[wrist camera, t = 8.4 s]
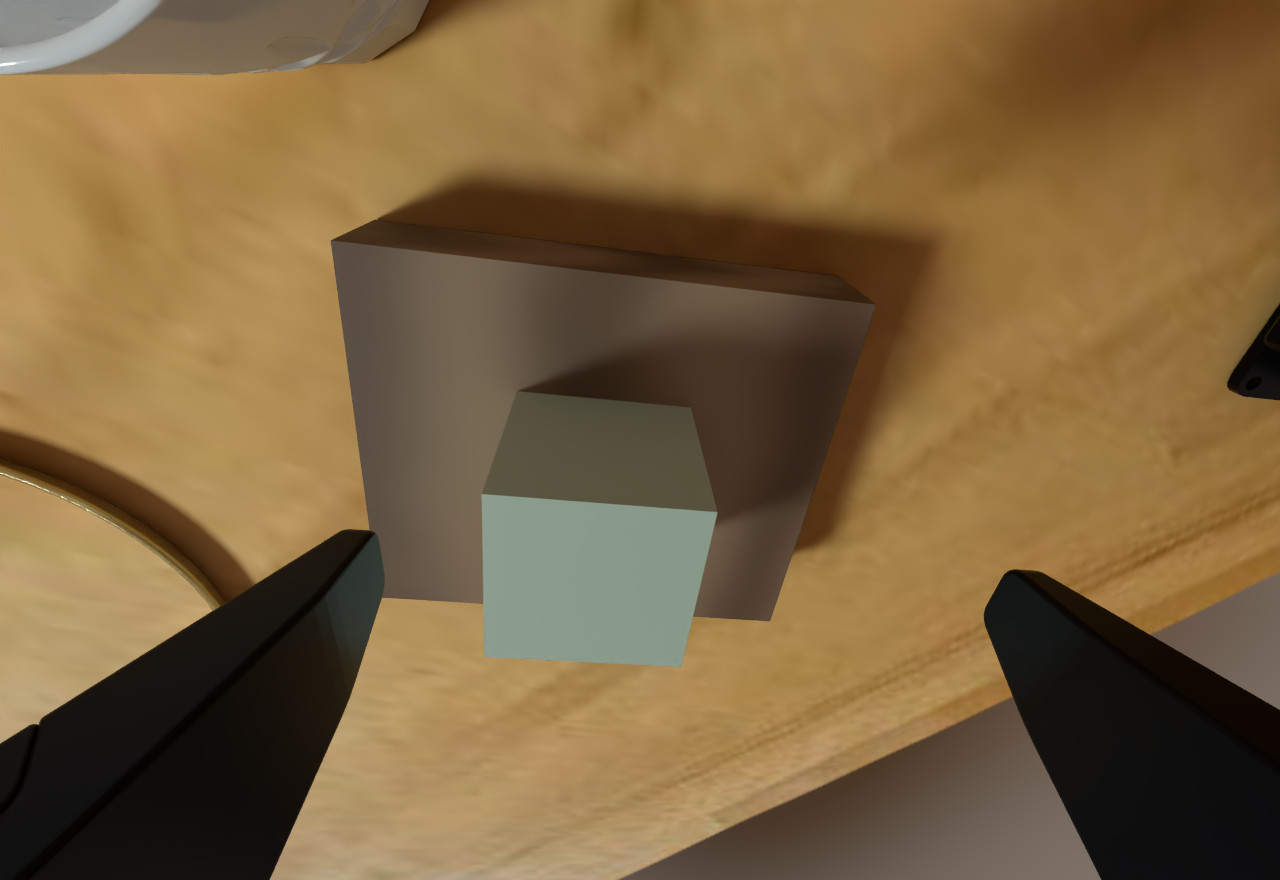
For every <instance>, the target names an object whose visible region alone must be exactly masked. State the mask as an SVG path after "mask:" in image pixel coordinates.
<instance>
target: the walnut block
mask: <svg viewBox="0 0 1280 880" xmlns="http://www.w3.org/2000/svg"><path fill="white" fill-rule="evenodd" d="M331 246H332V253H333V261H334V268H335V276H336V283H337V290H338V298H339V305H340V313H341V320H342V328H343V335H344V342H345V350H346V357H347V365H348V372H349V379H350V387H351V394H352V402H353V409H354V416H355V424H356V431H357V439H358V446H359V453H360V461H361V468H362V476H363V483H364V491H365V498H366V505H367V513H368V520H369V528H370V531H373V532H375V533H376V534H377V536H378V538H379V541H380V548H381V554H382V561H383V567H384V573H385V586H384V592H383V595H382V597H383V598H399V599H415V600H432V601H448V602H464V603H481V604H483V546H482V492H483V489H484V486H485V483H486V480H487V477H488V474H489V471H490V468H491V465H492V462H493V460H494V457H495V454H496V451H497V448H498V445H499V442H500V439H501V436H502V433H503V430H504V428H505V425H506V422H507V419H508V416H509V413H510V410H511V407H512V404H513V401H514V398H515V395H516V393H517V391H520V392H531V393H542V394H552V395H563V396H574V397H584V398H595V399H605V400H616V401H627V402H637V403H648V404H659V405H669V406H680V407H691V410H692V414H693V418H694V422H695V425H696V429H697V433H698V437H699V441H700V445H701V449H702V453H703V457H704V461H705V465H706V469H707V473H708V476H709V480H710V484H711V488H712V492H713V496H714V500H715V504H716V508H717V512H718V513H717V517H716V521H715V525H714V530H713V534H712V538H711V542H710V546H709V551H708V555H707V559H706V563H705V568H704V572H703V576H702V580H701V585H700V589H699V593H698V597H697V601H696V606H695V610H694V614H693V617H709V618H726V619H742V620H758V621H770V620H771V617H772V614H773V611H774V608H775V605H776V602H777V599H778V596H779V593H780V590H781V587H782V584H783V581H784V578H785V575H786V572H787V569H788V566H789V563H790V560H791V557H792V554H793V551H794V548H795V545H796V542H797V539H798V536H799V533H800V530H801V527H802V524H803V521H804V518H805V515H806V512H807V509H808V506H809V503H810V500H811V497H812V495H813V492H814V489H815V486H816V483H817V480H818V477H819V474H820V471H821V468H822V465H823V462H824V459H825V456H826V453H827V450H828V447H829V444H830V441H831V438H832V435H833V432H834V429H835V426H836V423H837V420H838V417H839V414H840V411H841V408H842V405H843V402H844V399H845V396H846V393H847V390H848V387H849V384H850V381H851V378H852V375H853V372H854V369H855V366H856V363H857V360H858V357H859V354H860V351H861V348H862V346H863V343H864V340H865V337H866V334H867V331H868V328H869V325H870V322H871V319H872V316H873V313H874V310H875V307H876V304H875V303H873V302H872V301H871V300H869V299H868V298H867V297H865V296H864V295H863V294H861V293H860V292H859V291H857V290H856V289H855V288H853V287H852V286H851V285H849V284H848V283H847V282H845V281H844V280H843V279H841V278H840V277H839V276H832V275H824V274H816V273H807V272H799V271H791V270H783V269H775V268H766V267H758V266H750V265H742V264H734V263H726V262H717V261H709V260H701V259H693V258H685V257H676V256H668V255H660V254H652V253H644V252H635V251H627V250H619V249H611V248H603V247H594V246H586V245H578V244H570V243H562V242H553V241H545V240H537V239H529V238H521V237H513V236H504V235H496V234H488V233H480V232H472V231H463V230H455V229H447V228H439V227H431V226H422V225H414V224H406V223H398V222H390V221H381V220H373V221H371V222H369V223H367V224H365V225H363V226H360V227H358V228H356V229H354V230H352V231H350V232H348V233H346V234H343V235H341V236H339V237H337V238H335V239H333V240H331Z"/></svg>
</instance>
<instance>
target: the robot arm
mask: <svg viewBox="0 0 1280 880" xmlns="http://www.w3.org/2000/svg"><path fill="white" fill-rule="evenodd" d="M1227 387H1228V389H1229V390H1230V391H1233V392H1235V393H1237V394H1239V395H1242V396H1245V397H1254V398H1263V399H1272V400H1280V305H1279V307H1278V308H1277V310H1276V311H1275V313H1274V314H1273V316H1272V317H1271V319H1270V320H1269V321H1268V323H1267V324H1266V326H1265V327H1264V329H1263V330H1262V332H1261V333H1260V334H1259V336H1258V337H1257V339H1256V340H1255V342H1254V343H1253V345H1252V346H1251V348H1250V349H1249V350H1248V352H1247V353H1246V355H1245V356H1244V358H1243V359H1242V361H1241V362H1240V363H1239V365H1238V366H1237V368H1236V369H1235V371H1234V372H1233V374H1232V375H1231V377H1230V378H1229V380H1228V383H1227ZM384 586H385V573H384V567H383V561H382V554H381V548H380V541H379V538H378V536H377V534H376V533H375V532H373V531H369V530H353V529H347V530H342V531H340V532H338V533H337V534H335V535H333V536H332V537H330V538H329V539H327V540H325V541H324V542H322V543H321V544H319V545H317V546H316V547H314V548H313V549H311V550H309V551H308V552H306V553H305V554H303V555H301V556H300V557H298V558H297V559H295V560H294V561H292V562H290V563H289V564H287V565H286V566H284V567H282V568H281V569H279V570H278V571H276V572H274V573H273V574H271V575H270V576H268V577H266V578H265V579H263V580H262V581H260V582H258V583H257V584H255V585H254V586H252V587H250V588H249V589H247V590H246V591H244V592H242V593H241V594H239V595H238V596H236V597H234V598H233V599H231V600H230V601H228V602H226V603H225V604H223V605H222V606H220V607H218V608H217V609H215V610H214V611H212V612H210V613H209V614H207V615H206V616H204V617H202V618H201V619H199V620H198V621H196V622H194V623H193V624H191V625H190V626H188V627H186V628H185V629H183V630H182V631H180V632H178V633H177V634H175V635H174V636H172V637H170V638H169V639H167V640H166V641H164V642H162V643H161V644H159V645H158V646H156V647H154V648H153V649H151V650H150V651H148V652H146V653H145V654H143V655H142V656H140V657H138V658H137V659H135V660H134V661H132V662H130V663H129V664H127V665H126V666H124V667H122V668H121V669H119V670H118V671H116V672H114V673H113V674H111V675H110V676H108V677H106V678H105V679H103V680H102V681H100V682H98V683H97V684H95V685H94V686H92V687H90V688H89V689H87V690H86V691H84V692H83V693H81V694H79V695H78V696H76V697H75V698H73V699H71V700H70V701H68V702H67V703H65V704H63V705H62V706H60V707H59V708H57V709H55V710H54V711H52V712H50V713H49V714H47V715H46V716H44V717H43V718H42V719H41V720H40V722H39V725H37V724H32V725H29V726H28V727H26V728H25V729H23V730H21V731H20V732H18V733H17V734H15V735H13V736H12V737H10V738H9V739H7V740H5V741H4V742H2V743H1V744H0V880H270V878H271V875H272V873H273V871H274V869H275V866H276V864H277V862H278V860H279V857H280V855H281V853H282V851H283V848H284V846H285V844H286V842H287V839H288V837H289V835H290V833H291V830H292V828H293V826H294V824H295V821H296V819H297V817H298V815H299V812H300V810H301V808H302V806H303V803H304V801H305V799H306V797H307V794H308V792H309V790H310V788H311V785H312V783H313V781H314V779H315V776H316V774H317V772H318V770H319V767H320V765H321V763H322V761H323V758H324V756H325V754H326V752H327V749H328V747H329V745H330V743H331V740H332V738H333V736H334V734H335V731H336V729H337V727H338V725H339V722H340V720H341V718H342V715H343V713H344V710H345V708H346V706H347V703H348V701H349V698H350V695H351V692H352V689H353V687H354V684H355V681H356V678H357V674H358V671H359V668H360V665H361V662H362V659H363V655H364V652H365V649H366V646H367V643H368V640H369V636H370V633H371V630H372V627H373V624H374V621H375V618H376V614H377V611H378V608H379V605H380V602H381V599H382V595H383V592H384ZM984 622H985V626H986V629H987V632H988V634H989V637H990V639H991V642H992V644H993V647H994V650H995V652H996V655H997V657H998V660H999V662H1000V665H1001V668H1002V670H1003V673H1004V675H1005V678H1006V680H1007V683H1008V685H1009V688H1010V691H1011V693H1012V696H1013V698H1014V701H1015V703H1016V706H1017V708H1018V711H1019V713H1020V716H1021V718H1022V720H1023V723H1024V725H1025V727H1026V729H1027V731H1028V734H1029V736H1030V737H1031V740H1032V742H1033V744H1034V746H1035V748H1036V750H1037V752H1038V754H1039V756H1040V758H1041V760H1042V762H1043V764H1044V766H1045V768H1046V770H1047V772H1048V774H1049V776H1050V778H1051V780H1052V782H1053V784H1054V786H1055V788H1056V790H1057V792H1058V794H1059V796H1060V798H1061V800H1062V802H1063V804H1064V806H1065V808H1066V810H1067V812H1068V814H1069V816H1070V818H1071V820H1072V822H1073V824H1074V826H1075V828H1076V830H1077V832H1078V834H1079V836H1080V838H1081V840H1082V842H1083V844H1084V846H1085V848H1086V850H1087V852H1088V854H1089V856H1090V858H1091V860H1092V862H1093V864H1094V866H1095V868H1096V870H1097V872H1098V874H1099V876H1100V878H1101V880H1280V710H1279V709H1277V708H1275V707H1274V706H1272V705H1270V704H1269V703H1267V702H1265V701H1263V700H1262V699H1260V698H1258V697H1256V696H1255V695H1253V694H1251V693H1250V692H1248V691H1246V690H1244V689H1242V688H1241V687H1239V686H1237V685H1236V684H1234V683H1232V682H1230V681H1229V680H1227V679H1225V678H1224V677H1222V676H1220V675H1218V674H1217V673H1215V672H1213V671H1211V670H1210V669H1208V668H1206V667H1205V666H1203V665H1201V664H1199V663H1198V662H1196V661H1194V660H1192V659H1191V658H1189V657H1187V656H1186V655H1184V654H1182V653H1180V652H1178V651H1177V650H1175V649H1174V648H1172V647H1170V646H1168V645H1167V644H1165V643H1163V642H1161V641H1160V640H1158V639H1156V638H1155V637H1153V636H1151V635H1149V634H1148V633H1146V632H1144V631H1142V630H1141V629H1139V628H1137V627H1136V626H1134V625H1132V624H1130V623H1129V622H1127V621H1125V620H1123V619H1122V618H1120V617H1118V616H1117V615H1115V614H1113V613H1111V612H1110V611H1108V610H1106V609H1104V608H1103V607H1101V606H1099V605H1098V604H1096V603H1094V602H1092V601H1091V600H1089V599H1087V598H1085V597H1084V596H1082V595H1080V594H1079V593H1077V592H1075V591H1073V590H1072V589H1070V588H1068V587H1066V586H1065V585H1063V584H1061V583H1060V582H1058V581H1056V580H1054V579H1053V578H1051V577H1049V576H1047V575H1046V574H1044V573H1042V572H1039V571H1034V570H1017V569H1014V570H1009V571H1008V572H1007V573H1005V574H1004V575H1003V577H1002V579H1001V580H1000V582H999V584H998V586H997V588H996V589H995V591H994V593H993V595H992V597H991V598H990V600H989V602H988V604H987V606H986V608H985V611H984Z"/></svg>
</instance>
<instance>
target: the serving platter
mask: <svg viewBox="0 0 1280 880" xmlns="http://www.w3.org/2000/svg"><path fill="white" fill-rule="evenodd" d="M0 475H2V476H5V477H8V478H11V479H13V480H16V481H19V482H22V483H25V484H28V485H30V486H33V487H35V488H38V489H40V490H43V491H45V492H47V493H50V494H52V495H54V496H57V497H59V498H62V499H64V500H66V501H68V502H70V503H72V504H74V505H76V506H78V507H80V508H82V509H84V510H86V511H88V512H90V513H92V514H94V515H96V516H97V517H99V518H101V519H103V520H105V521H106V522H108V523H110V524H112V525H114V526H115V527H117V528H118V529H120V530H121V531H123V532H125V533H126V534H128V535H129V536H131V537H132V538H134V539H136V540H137V541H139V542H140V543H141V544H143V545H144V546H145V547H147V548H148V549H150V550H151V551H152V552H154V553H155V554H156V555H158V556H159V557H160V558H162V559H163V560H164V561H165V562H166V563H168V564H169V565H170V566H171V567H172V568H174V569H175V570H176V571H177V572H178V573H179V574H180V575H181V576H182V577H183V578H184V579H185V580H187V581H188V582H189V583H190V584H191V585H192V586H193V587H194V588H195V589H196V591H197V592H198V593H199V594H200V595H201V596H202V597H203V598H204V600H205V601H206V602H207V603H208V604H209V606H210V608H211V609H212V611H214V610H215V609H217V608H218V607H220V606H222V605H223V604H225V603H226V602H225V601H224V600H223V598H222V597H221V595H220V594H219V593H218V591H217V590H216V589H215V587H214V586H213V585H212V584H211V583H210V582H209V581H208V579H207V578H206V577H205V576H204V575H203V574H202V573H201V572H200V571H199V570H198V569H197V568H196V567H195V566H194V565H193V564H192V563H191V562H190V561H189V560H188V559H187V558H186V557H185V556H184V555H183V554H181V553H180V552H179V551H178V550H177V549H176V548H174V547H173V546H172V545H171V544H170V543H168V542H167V541H166V540H164V539H163V538H162V537H160V536H159V535H158V534H156V533H155V532H154V531H152V530H151V529H150V528H148V527H147V526H145V525H144V524H142V523H140V522H139V521H137V520H136V519H134V518H133V517H131V516H130V515H128V514H126V513H125V512H123V511H121V510H119V509H118V508H116V507H114V506H112V505H111V504H109V503H107V502H105V501H103V500H101V499H99V498H97V497H95V496H93V495H91V494H89V493H87V492H85V491H83V490H81V489H79V488H77V487H75V486H72V485H70V484H68V483H65V482H63V481H61V480H58V479H56V478H54V477H51V476H48V475H46V474H43V473H40V472H37V471H35V470H32V469H29V468H26V467H23V466H20V465H17V464H14V463H10V462H7V461H4V460H0Z"/></svg>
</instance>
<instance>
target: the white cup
mask: <svg viewBox="0 0 1280 880" xmlns="http://www.w3.org/2000/svg"><path fill="white" fill-rule="evenodd" d="M428 2H429V0H0V75H107V74H179V75H224V74H235V73H262V72H274V71H297V70H302V69H305V68H308V67H311V66H314V65H318V64H364V63H367V62H369V61H371V60H372V59H374V58H375V57H377V56H378V55H379V54H381V53H382V52H384V51H385V50H387V49H388V48H390V47H391V46H393V45H394V44H396V43H397V42H399V41H400V40H402V39H403V38H405V37H406V36H408V35H409V34H411V33H412V32H414V31H415V29H416V27H417V25H418V23H419V21H420V19H421V17H422V15H423V13H424V10H425V8H426V6H427V4H428Z"/></svg>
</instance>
